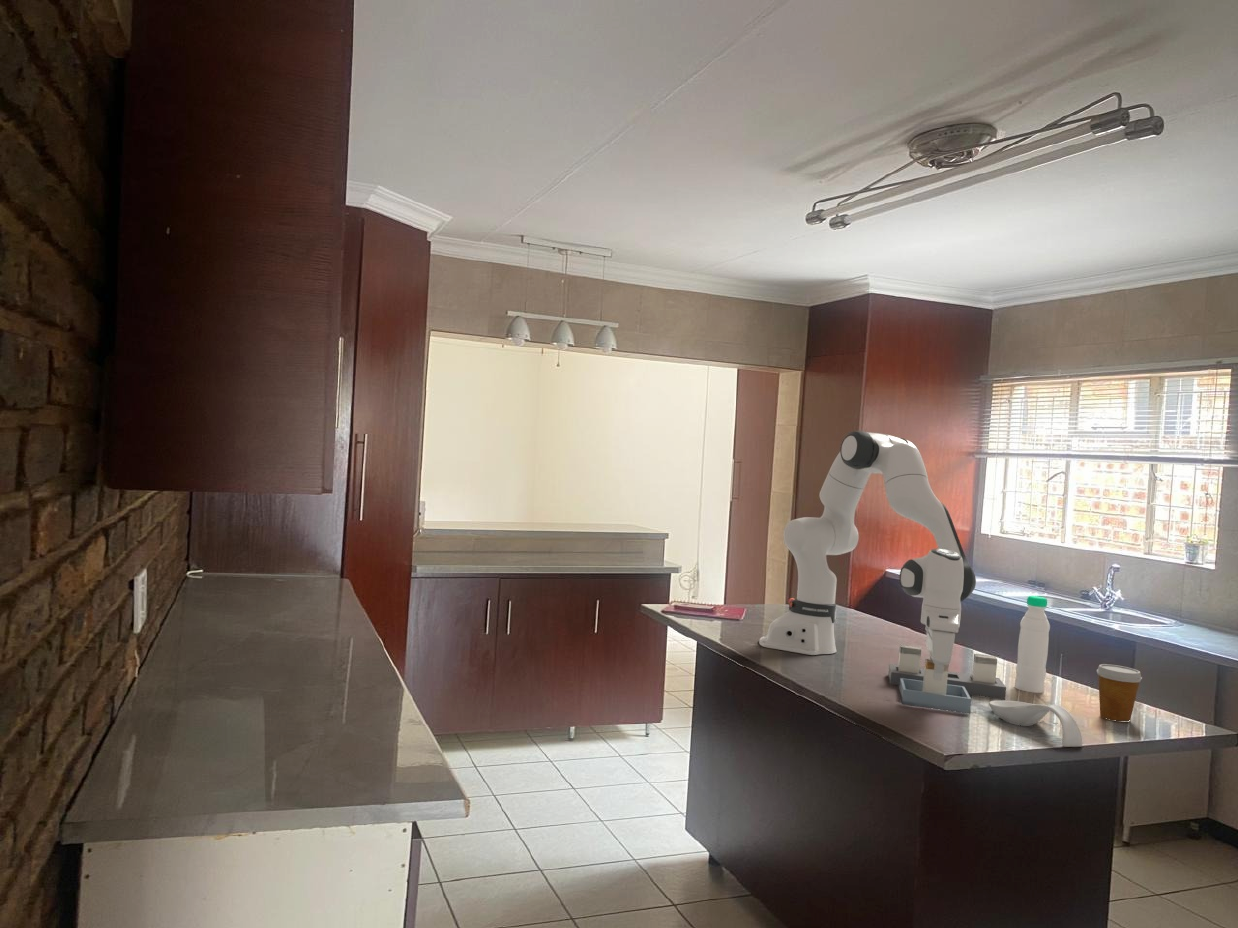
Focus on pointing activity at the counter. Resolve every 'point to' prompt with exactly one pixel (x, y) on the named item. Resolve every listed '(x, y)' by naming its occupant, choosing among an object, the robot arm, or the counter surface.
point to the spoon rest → (1038, 718)
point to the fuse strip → (954, 682)
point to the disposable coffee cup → (1117, 691)
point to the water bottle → (1033, 647)
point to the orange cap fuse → (930, 682)
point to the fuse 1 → (909, 658)
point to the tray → (934, 697)
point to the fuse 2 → (984, 668)
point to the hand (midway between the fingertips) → (935, 675)
